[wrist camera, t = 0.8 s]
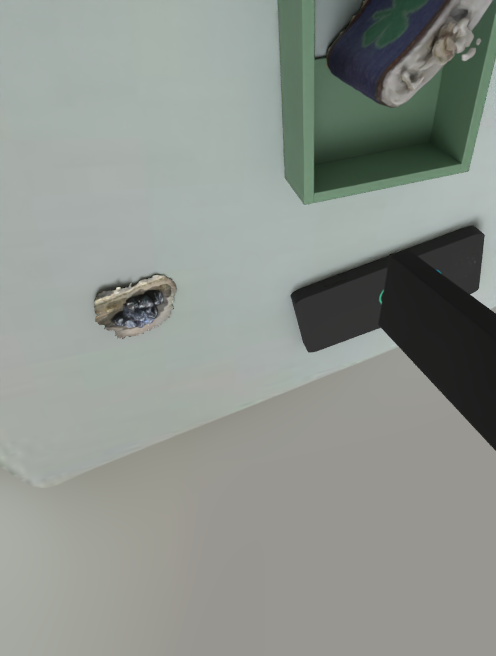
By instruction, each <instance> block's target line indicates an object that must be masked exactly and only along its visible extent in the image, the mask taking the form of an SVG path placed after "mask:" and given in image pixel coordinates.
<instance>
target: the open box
mask: <svg viewBox="0 0 496 656" xmlns="http://www.w3.org/2000/svg"><path fill="white" fill-rule="evenodd" d="M278 17H279V42H280V66H281V91H282V115H283V140H284V165H285V179H286V180H287V182H288V183H289V184H290V186H291V187H292V189H293V190H294V191H295V193H296V194H297V195H298V197H299V198H300V200H301V201H302V202H303V204H304V205H306V204H311V203H316V202H321V201H326V200H331V199H336V198H340V197H345V196H350V195H355V194H360V193H365V192H370V191H375V190H380V189H385V188H390V187H394V186H399V185H404V184H409V183H414V182H419V181H424V180H429V179H434V178H439V177H444V176H448V175H453V174H458V173H463V172H467V171H469V167H470V163H471V159H472V155H473V150H474V146H475V142H476V138H477V134H478V129H479V125H480V121H481V117H482V113H483V108H484V104H485V100H486V96H487V92H488V87H489V83H490V79H491V75H492V70H493V66H494V62H495V58H496V0H493V1H492V3H491V4H490V5H489V7H488V8H487V10H486V11H485V13H484V14H483V16H482V18H481V19H480V21H479V22H478V24H477V25H476V26H475V27H474V29H473V30H472V34H473V35H474V38H473V40H472V42H471V44H470V46H469V47H465V50H464V51H463V52H462V53H457V52H456V53H455V55H454V57H453V58H452V59H451V60H450V61H448V62H447V63H446V64H445V65H444V66H443V67H442V68H441V69H440V71H439V72H438V73H437V74H436V75H435V76H434V77H433V78H432V79H431V80H430V81H429V82H428V83H426V84H425V85H424V86H423V87H422V88H421V89H420V90H418V91H417V92H416V93H415V94H414V95H413V96H412V97H411V98H410V99H409V100H408V101H407V102H406V103H404V104H402V105H401V106H399V107H395V108H390V107H387V106H383V105H380V104H378V103H376V102H375V101H373V100H372V99H370V98H368V97H366V96H365V95H363V94H362V93H361V92H360V91H358V90H355V89H354V88H353V87H351V86H349V85H348V84H346V83H344V82H343V81H341V80H340V79H339V78H337V77H335V76H334V75H333V74H332V73H331V71H330V70H329V68H328V67H325V66H326V63H327V60H326V58H327V57H323V58H317V59H314V55H315V0H278ZM477 39H481V42H480V44H479V45H477V44H476V41H477ZM470 48H476V52H475V54H474V56H472V57H471V58H470V59H468V60H466V61H462V60H461V59H462V55H463V54H466V53H467V52H468V51H469V49H470Z"/></svg>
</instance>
